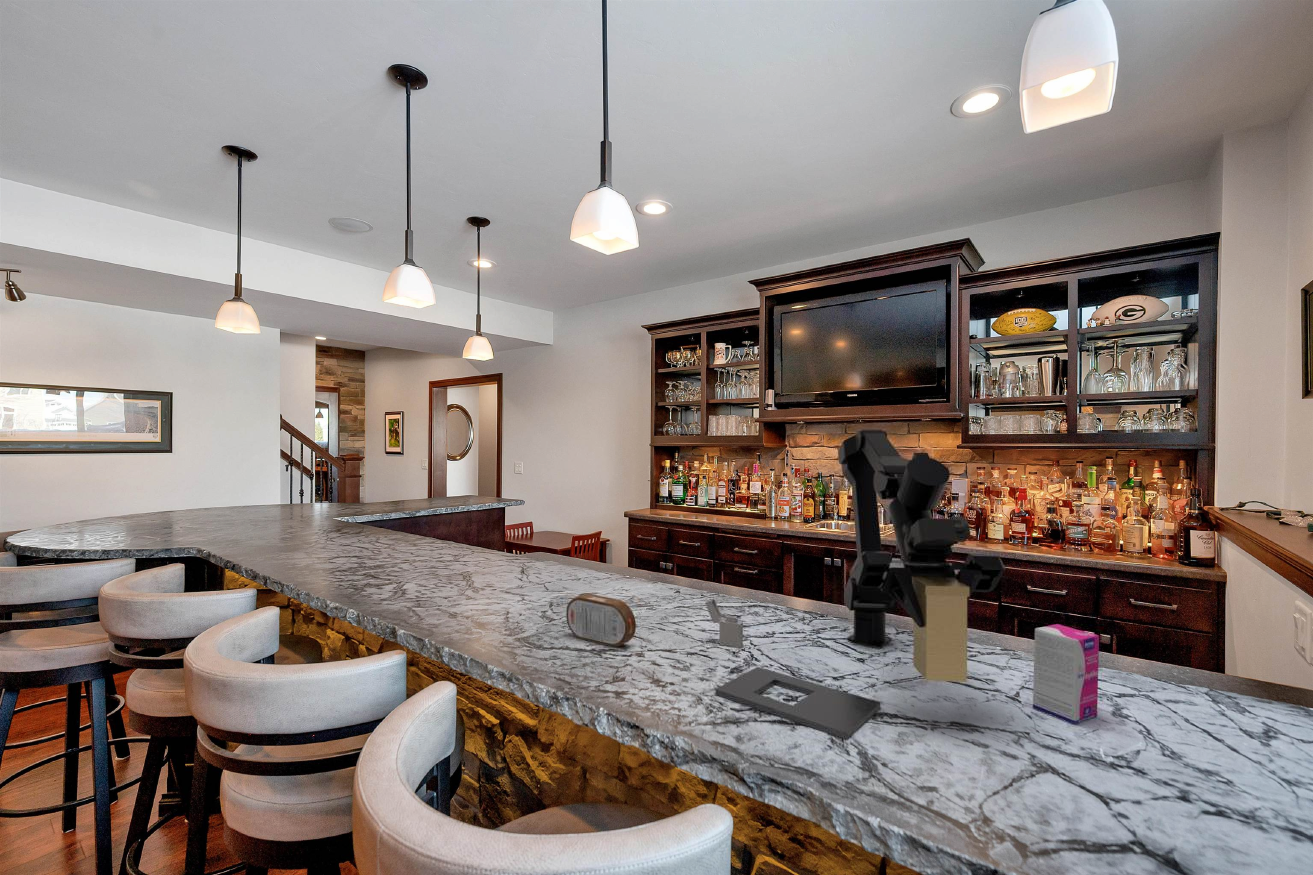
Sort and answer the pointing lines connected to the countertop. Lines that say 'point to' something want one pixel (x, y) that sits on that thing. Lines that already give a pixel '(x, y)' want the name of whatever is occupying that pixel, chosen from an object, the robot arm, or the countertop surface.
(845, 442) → the robot arm
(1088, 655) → the supplement box
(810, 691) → the grey plate with hole
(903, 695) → the countertop surface
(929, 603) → the tan square peg
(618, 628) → the tin
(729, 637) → the lighter
